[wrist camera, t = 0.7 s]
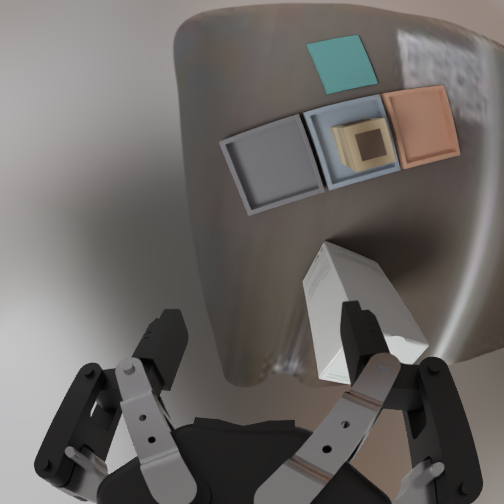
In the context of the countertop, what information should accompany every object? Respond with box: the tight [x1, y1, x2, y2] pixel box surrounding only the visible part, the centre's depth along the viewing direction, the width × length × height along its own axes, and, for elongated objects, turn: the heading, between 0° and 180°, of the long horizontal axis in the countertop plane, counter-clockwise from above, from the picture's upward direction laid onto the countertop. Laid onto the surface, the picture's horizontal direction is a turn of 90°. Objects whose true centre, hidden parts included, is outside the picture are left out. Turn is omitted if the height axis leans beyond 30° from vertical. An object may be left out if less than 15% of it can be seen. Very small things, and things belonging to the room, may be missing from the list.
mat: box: [306, 35, 378, 94], centre depth 22 cm, size 6×6×1 cm
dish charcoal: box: [219, 114, 325, 216], centre depth 28 cm, size 8×8×2 cm
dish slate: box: [302, 94, 400, 190], centre depth 26 cm, size 8×8×2 cm
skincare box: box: [303, 241, 429, 384], centre depth 26 cm, size 8×7×16 cm
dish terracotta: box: [380, 85, 460, 169], centre depth 24 cm, size 8×8×2 cm
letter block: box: [330, 118, 396, 172], centre depth 23 cm, size 4×4×6 cm
